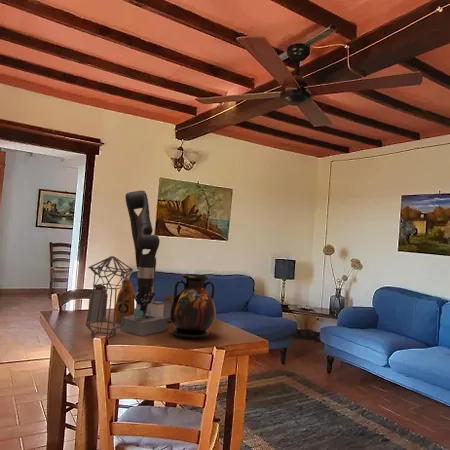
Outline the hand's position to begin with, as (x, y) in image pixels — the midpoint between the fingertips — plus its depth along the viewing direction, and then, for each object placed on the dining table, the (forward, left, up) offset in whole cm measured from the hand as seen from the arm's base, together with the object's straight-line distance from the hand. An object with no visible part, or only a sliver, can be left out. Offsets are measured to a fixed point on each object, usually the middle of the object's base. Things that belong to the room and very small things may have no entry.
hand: (143, 313), depth 189 cm
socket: (-2, 0, -8) cm, 8 cm away
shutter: (+5, 0, -2) cm, 5 cm away
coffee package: (-8, -20, -8) cm, 23 cm away
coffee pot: (-31, -4, -8) cm, 32 cm away
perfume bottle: (+1, -30, -8) cm, 31 cm away
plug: (-17, -6, -8) cm, 20 cm away
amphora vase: (-11, +21, -8) cm, 25 cm away
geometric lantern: (+18, -4, -8) cm, 20 cm away
